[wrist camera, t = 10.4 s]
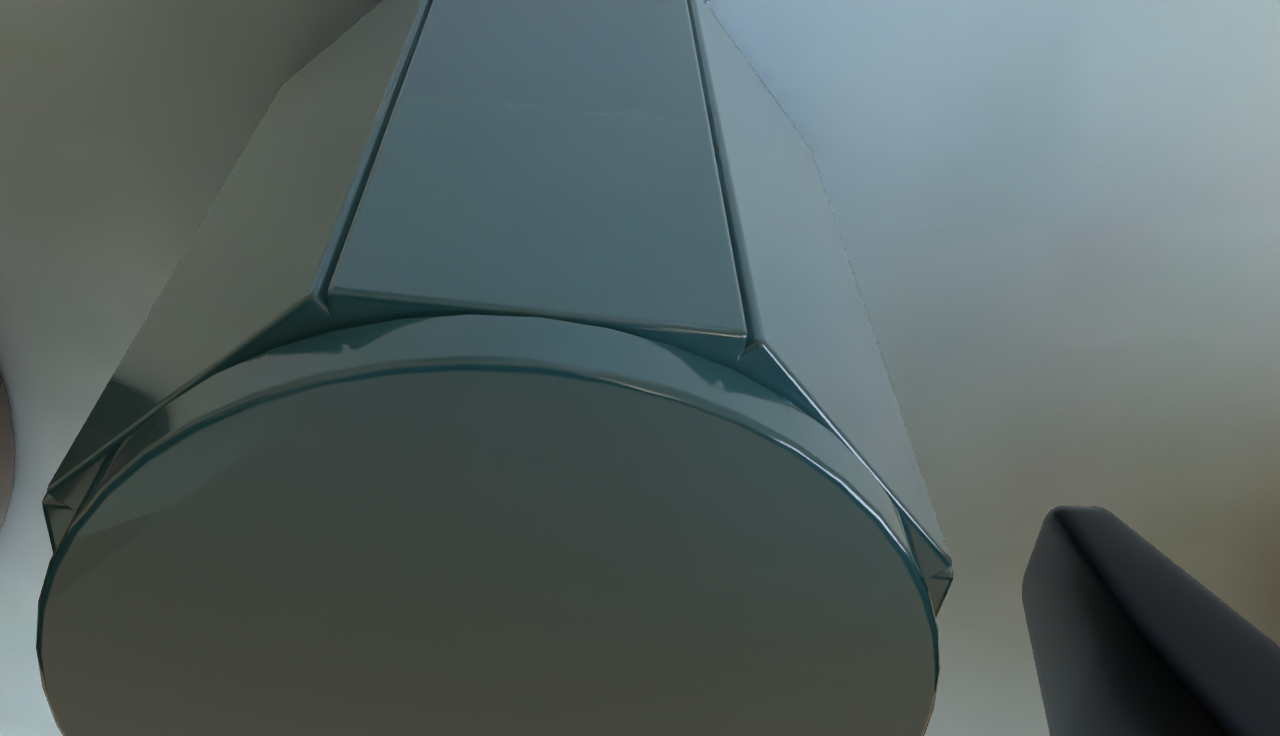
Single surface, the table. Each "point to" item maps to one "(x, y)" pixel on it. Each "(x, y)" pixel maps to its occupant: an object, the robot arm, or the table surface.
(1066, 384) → the table surface
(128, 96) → the table surface
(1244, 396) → the table surface
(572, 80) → the cup
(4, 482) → the holder
